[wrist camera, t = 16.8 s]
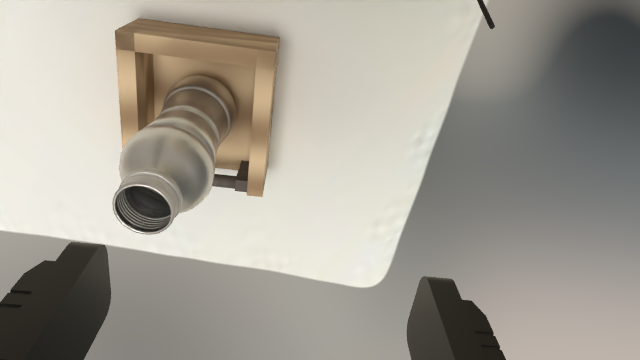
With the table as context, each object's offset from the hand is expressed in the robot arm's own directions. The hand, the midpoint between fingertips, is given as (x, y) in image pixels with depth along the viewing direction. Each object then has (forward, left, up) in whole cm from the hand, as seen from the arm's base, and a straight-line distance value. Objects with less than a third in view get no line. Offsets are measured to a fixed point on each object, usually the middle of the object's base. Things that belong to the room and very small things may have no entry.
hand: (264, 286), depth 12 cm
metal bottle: (+8, -8, -35) cm, 37 cm away
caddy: (+8, -8, -36) cm, 38 cm away
